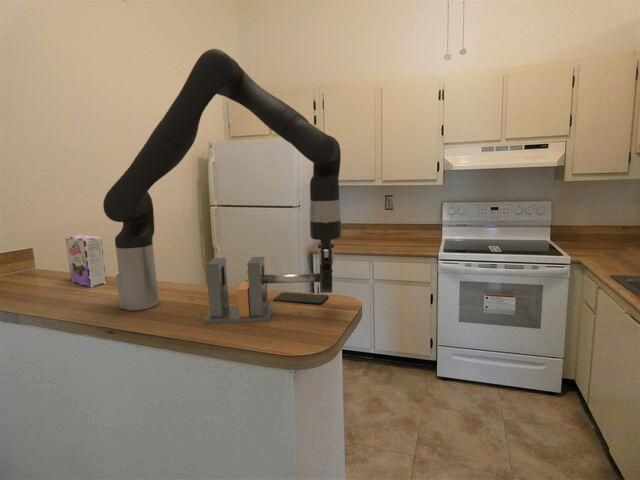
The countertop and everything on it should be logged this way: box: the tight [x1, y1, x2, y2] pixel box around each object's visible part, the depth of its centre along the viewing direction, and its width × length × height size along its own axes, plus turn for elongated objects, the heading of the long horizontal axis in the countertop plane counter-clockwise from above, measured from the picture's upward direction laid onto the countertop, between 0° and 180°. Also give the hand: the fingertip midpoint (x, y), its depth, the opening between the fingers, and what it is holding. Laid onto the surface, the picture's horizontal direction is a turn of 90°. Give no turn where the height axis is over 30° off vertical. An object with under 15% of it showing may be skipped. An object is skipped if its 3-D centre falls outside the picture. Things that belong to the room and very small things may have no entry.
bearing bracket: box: [202, 256, 274, 324], centre depth 97 cm, size 16×9×14 cm, turn 90°
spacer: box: [236, 281, 251, 317], centre depth 97 cm, size 2×7×7 cm, turn 0°
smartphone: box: [273, 292, 329, 306], centre depth 110 cm, size 7×1×15 cm
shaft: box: [262, 264, 333, 294], centre depth 96 cm, size 18×3×7 cm, turn 90°
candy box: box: [65, 234, 107, 288], centre depth 132 cm, size 14×6×16 cm, turn 55°
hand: (327, 284), depth 96 cm, fingers open, 6 cm apart
